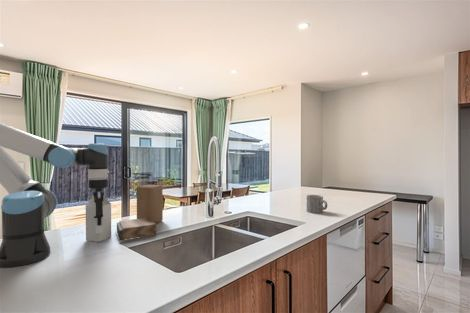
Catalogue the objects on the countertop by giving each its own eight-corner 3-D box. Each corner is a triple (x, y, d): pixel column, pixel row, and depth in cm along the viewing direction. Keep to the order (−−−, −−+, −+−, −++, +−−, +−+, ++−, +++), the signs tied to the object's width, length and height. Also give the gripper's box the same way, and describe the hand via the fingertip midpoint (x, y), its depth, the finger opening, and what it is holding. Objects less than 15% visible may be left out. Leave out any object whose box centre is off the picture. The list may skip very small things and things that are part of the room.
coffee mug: (303, 211, 166) (303, 195, 166) (314, 209, 171) (314, 194, 171) (319, 215, 155) (319, 198, 155) (330, 213, 160) (330, 197, 160)
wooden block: (136, 223, 136) (135, 186, 136) (148, 219, 146) (148, 184, 145) (151, 225, 133) (150, 187, 132) (163, 221, 142) (163, 185, 142)
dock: (119, 240, 111) (119, 229, 111) (116, 231, 123) (116, 221, 123) (155, 234, 118) (155, 224, 118) (149, 227, 130) (149, 217, 130)
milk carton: (100, 242, 109) (99, 197, 108) (85, 241, 110) (85, 196, 110) (111, 236, 116) (111, 194, 115) (97, 235, 117) (97, 194, 117)
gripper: (109, 180, 105) (110, 235, 105) (106, 176, 124) (106, 222, 124) (88, 181, 101) (89, 238, 101) (88, 177, 120) (88, 224, 121)
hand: (98, 229), depth 113 cm, fingers closed on milk carton, 10 cm apart
